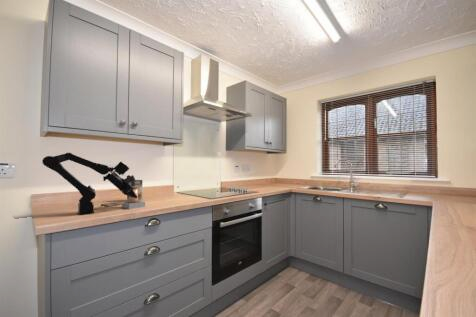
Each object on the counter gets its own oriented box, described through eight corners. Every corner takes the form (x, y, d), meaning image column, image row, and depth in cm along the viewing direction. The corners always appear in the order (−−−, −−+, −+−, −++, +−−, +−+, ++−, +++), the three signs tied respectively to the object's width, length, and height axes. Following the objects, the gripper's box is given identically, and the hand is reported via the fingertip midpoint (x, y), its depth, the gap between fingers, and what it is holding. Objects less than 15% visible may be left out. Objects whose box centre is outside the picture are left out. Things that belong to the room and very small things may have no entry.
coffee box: (131, 201, 168) (132, 180, 169) (126, 201, 172) (126, 180, 172) (142, 200, 176) (142, 179, 177) (137, 199, 180) (137, 179, 180)
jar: (131, 208, 137) (131, 187, 138) (127, 207, 141) (127, 186, 141) (140, 206, 142) (140, 186, 142) (135, 205, 145) (136, 185, 146)
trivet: (107, 208, 143) (107, 206, 143) (100, 206, 150) (100, 204, 150) (126, 205, 152) (126, 203, 152) (119, 203, 159) (119, 201, 159)
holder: (129, 210, 134) (129, 204, 134) (122, 208, 141) (122, 202, 141) (145, 208, 142) (145, 201, 142) (137, 206, 148) (137, 200, 148)
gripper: (128, 171, 132) (148, 188, 138) (125, 170, 148) (143, 186, 153) (113, 185, 128) (134, 202, 133) (111, 183, 143) (130, 199, 149)
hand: (136, 197), depth 142 cm, fingers open, 8 cm apart
